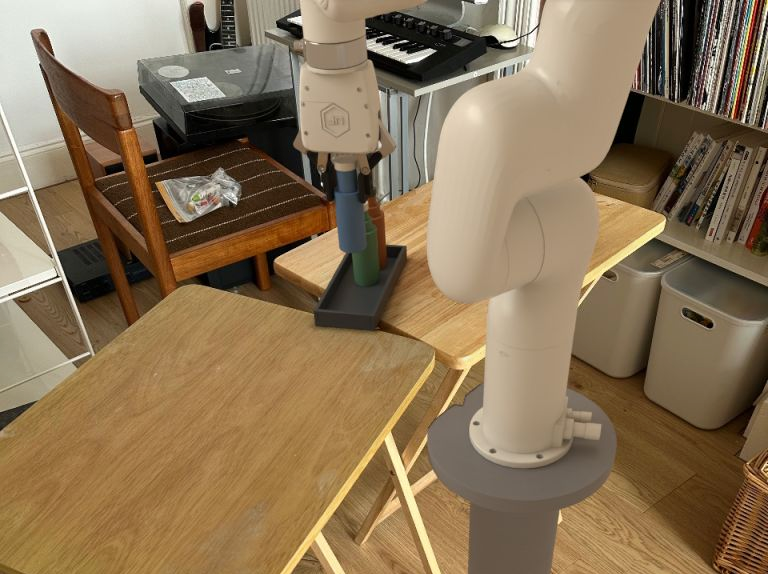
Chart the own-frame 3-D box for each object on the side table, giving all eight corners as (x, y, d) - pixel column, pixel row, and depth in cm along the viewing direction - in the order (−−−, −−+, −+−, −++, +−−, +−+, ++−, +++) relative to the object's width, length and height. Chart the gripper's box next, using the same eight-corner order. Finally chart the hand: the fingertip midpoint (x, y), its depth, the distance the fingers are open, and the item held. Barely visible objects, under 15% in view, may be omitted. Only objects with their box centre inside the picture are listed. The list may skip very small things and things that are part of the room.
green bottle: (382, 274, 125) (377, 197, 116) (376, 287, 123) (371, 209, 114) (358, 272, 126) (351, 195, 117) (351, 285, 123) (344, 207, 114)
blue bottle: (369, 241, 116) (363, 153, 107) (362, 254, 113) (355, 165, 104) (343, 239, 117) (335, 152, 108) (336, 252, 114) (326, 164, 105)
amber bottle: (389, 259, 128) (385, 183, 120) (383, 272, 126) (379, 194, 117) (365, 258, 129) (360, 182, 120) (359, 270, 127) (353, 193, 118)
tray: (407, 259, 129) (406, 245, 127) (375, 330, 115) (374, 315, 113) (353, 256, 131) (351, 242, 129) (315, 325, 117) (313, 310, 115)
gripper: (261, 60, 96) (283, 207, 109) (395, 63, 92) (401, 214, 105) (281, 41, 101) (300, 184, 114) (409, 43, 97) (413, 190, 111)
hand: (348, 197), depth 110 cm, fingers closed on blue bottle, 4 cm apart
